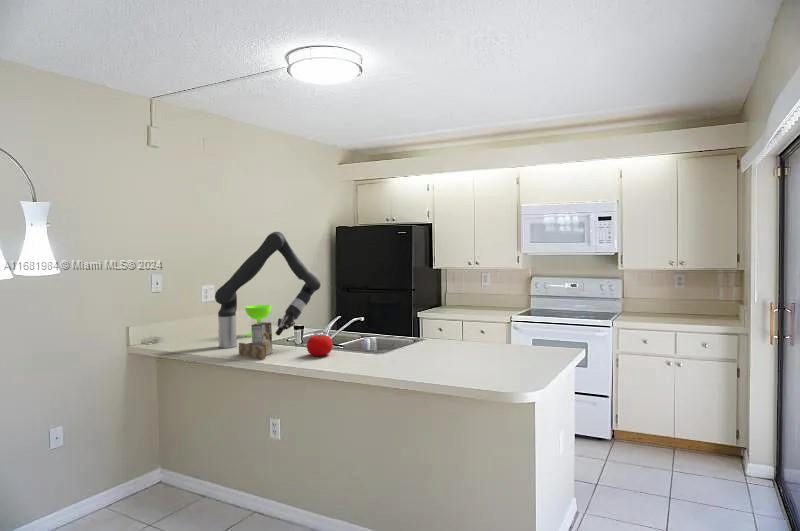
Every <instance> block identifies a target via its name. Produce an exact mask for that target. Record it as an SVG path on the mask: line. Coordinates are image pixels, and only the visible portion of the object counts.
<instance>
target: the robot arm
mask: <svg viewBox="0 0 800 531" xmlns="http://www.w3.org/2000/svg"><path fill="white" fill-rule="evenodd" d="M277 251H278V252H279V253H280V254H281V255H282V257H283V258H284V259H285V261H286V262H287V265H288V267H289V269H290V270H291V271H292V272H293V274H294V275H295V276H296V277H297V279H298V280H302V281H303V282H304V284H303V286H302V288H301V290H300V291H299V293H298V294H297V295H296V297H295V298H294V299H293V300H292V302H290V304H289V305H288V307H287V308H286V309H285V311H284V313H285V315H283V316H282V318H280V317H279V318H278V320H277V328H278V329H277V330H276V331H275V333H274V334H275V335H276V336H281V335H282V333H283V331H285V330H288V329H290V328H291V327H293V326H294V325H295V324H296V321H295V320H298V318H299V317H300V315H301V314H302V312H303V311H304V310H305V308H306V307H307V305H308V303H310V301H311V299H312V296H313V294H314V293H315V292H317V291H318V290H319V289H320V288H321V281H320V280H319V278H318V277H317V276H316V275H314V273H312V272H311V271H309V270H308V268H307V266H306V265H305V264H304V263H303V262H302V260H300V258H299V257H298V255H297V254H296V253H295V252H294V250H293V248H292V247H291V245H290V244H289V242H288V241H287V239H286V237H285V235H284V234H283V233H282V232H280V231H273V232H271V233H270V234H268V235H267V236H266V237H265V239H264V241H263V242H262V243H261V245H259V247H258V248H257V250H256V251H255V252H253V253H252V254H251V255H250V256H249V257H248V258H247V259H246V260H245V261H244V262H243V263H242V264H240V266H239V268H238V269H237V270H236V271H235V272H233V274H232V275H231V277H230V278H229V279H228V280H227V281H226V282H225V283H224V284H223V285H221V287H219V288H218V289H217V290H216V291H215V295H214V299H215V302H216V303H218V304H219V305H220V309H218V313H217V319H218V347H219V348H221V349H230V348H236V347H237V346H238V342H237V341H238V340H237V317H236V315H237V314H236V312H237V310H238V304H237V303H238V299H237V298H238V296H237V291H238V290H239V289H240V288H241V287H243V286H244V285H246V284H247V283H248V282H250V281H251V280H252V279H254V277H256V275H257V274H258V273H260V271H261V269H262V268H263V267H264V265H265V264H266V262H267V261H268V260H269V258H270V257H271V256H272V255H273V254H275V252H277Z"/></svg>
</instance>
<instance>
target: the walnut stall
mask: <svg viewBox="0 0 800 531" xmlns="http://www.w3.org/2000/svg"><path fill="white" fill-rule="evenodd" d="M238 355H239V356H245V357H249V358H253V359H257V358H258V359H257V360H262V359H265V360H266V357H267V355H266V345H259V346H256V345H252V342H248V343H245V342H238ZM265 356H266V357H265Z"/></svg>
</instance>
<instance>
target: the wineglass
mask: <svg viewBox="0 0 800 531" xmlns="http://www.w3.org/2000/svg"><path fill="white" fill-rule="evenodd" d="M244 310H245V312H246V315H247V316H248V317H250V318H251V319H253V320H257V323H261V320H262V319H265V318H267V317H268V316H269V315H270V313H271V311H272V305H269V304H257V305H249V306H244ZM257 323H256V324H257ZM246 336H248V337H247V338H251V337H252V332H249V333H247V334H246ZM246 336H245V337H246Z"/></svg>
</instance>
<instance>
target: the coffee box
mask: <svg viewBox="0 0 800 531" xmlns="http://www.w3.org/2000/svg"><path fill="white" fill-rule="evenodd" d="M272 330H273V329H272V322H264V321H263V322H261V323H253V324H251V333H252V338H251V343H252V345H256V346H259V345H266V356H268V354H269V355H271V354H273V335H272V334H273V331H272ZM270 353H271V354H270Z"/></svg>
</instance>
